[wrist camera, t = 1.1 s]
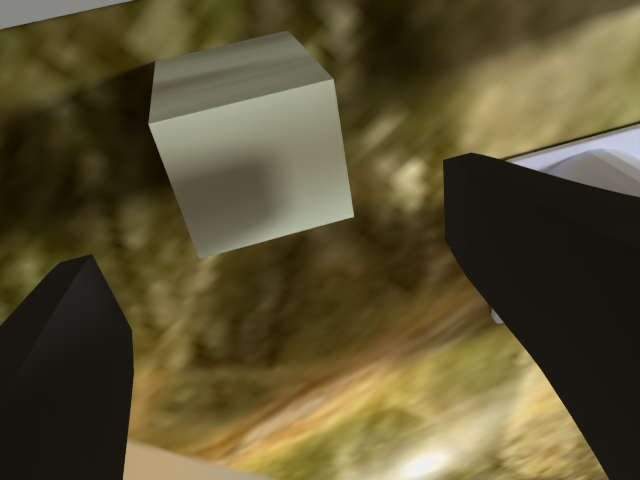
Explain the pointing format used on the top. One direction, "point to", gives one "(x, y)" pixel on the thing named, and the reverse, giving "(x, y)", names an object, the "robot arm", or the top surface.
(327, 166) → the cabinet block
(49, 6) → the board
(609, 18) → the top surface
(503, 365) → the top surface
